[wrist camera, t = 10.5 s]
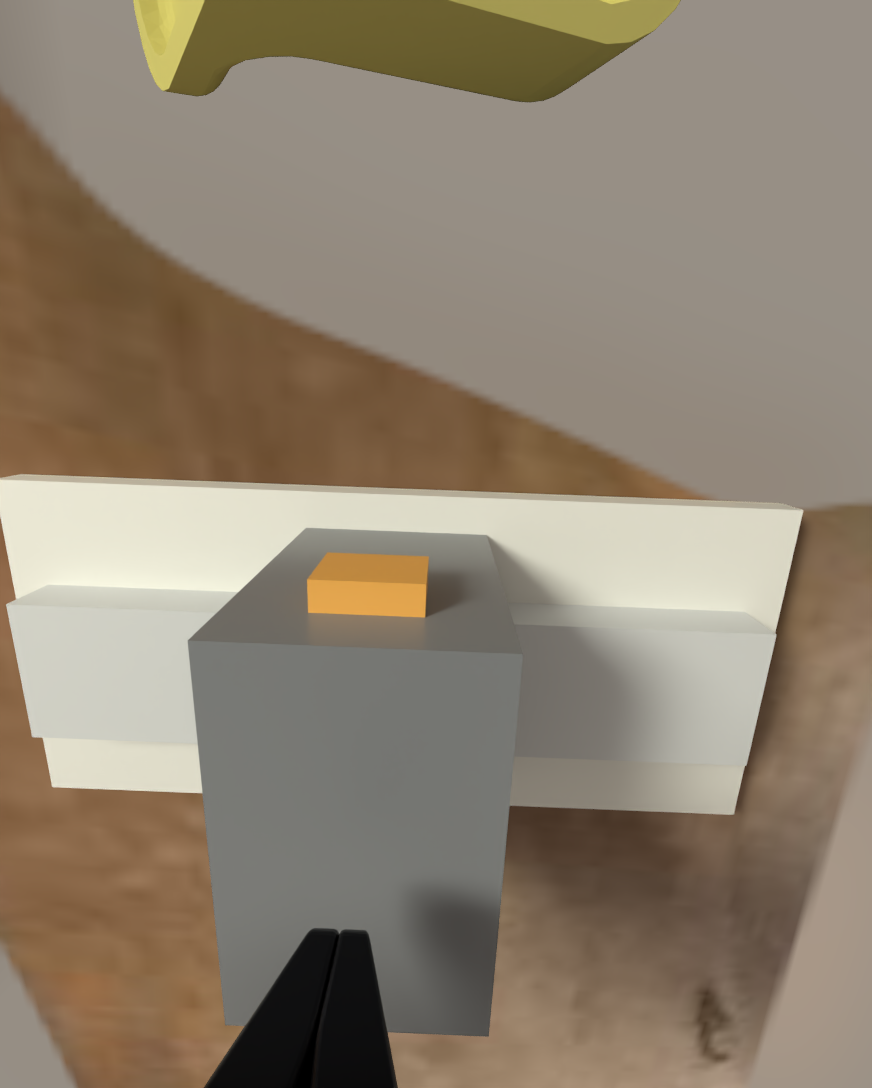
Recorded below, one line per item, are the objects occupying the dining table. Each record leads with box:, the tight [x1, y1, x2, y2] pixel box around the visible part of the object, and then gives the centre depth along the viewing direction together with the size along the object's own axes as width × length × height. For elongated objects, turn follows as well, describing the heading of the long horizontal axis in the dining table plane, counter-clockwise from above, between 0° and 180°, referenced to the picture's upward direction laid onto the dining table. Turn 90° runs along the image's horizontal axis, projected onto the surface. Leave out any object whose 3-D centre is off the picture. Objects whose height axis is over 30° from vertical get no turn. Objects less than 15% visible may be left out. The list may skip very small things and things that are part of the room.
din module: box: [188, 528, 523, 1037], centre depth 12 cm, size 9×5×7 cm, turn 178°
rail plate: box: [0, 474, 803, 815], centre depth 15 cm, size 10×22×2 cm, turn 88°
